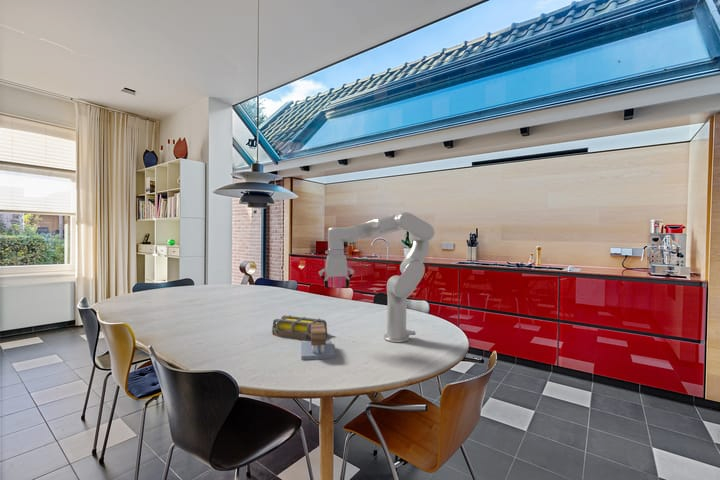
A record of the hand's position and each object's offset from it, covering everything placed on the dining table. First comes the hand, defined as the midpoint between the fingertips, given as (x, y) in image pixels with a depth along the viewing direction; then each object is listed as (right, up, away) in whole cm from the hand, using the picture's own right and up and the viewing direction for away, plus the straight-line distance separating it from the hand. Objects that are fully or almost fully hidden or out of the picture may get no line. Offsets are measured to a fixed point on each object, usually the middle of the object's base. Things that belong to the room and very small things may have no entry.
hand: (336, 288), depth 158 cm
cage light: (-20, -26, +11) cm, 35 cm away
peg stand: (-8, -26, -13) cm, 30 cm away
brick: (-8, -21, -13) cm, 25 cm away
